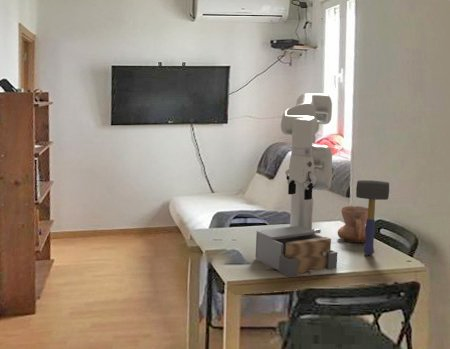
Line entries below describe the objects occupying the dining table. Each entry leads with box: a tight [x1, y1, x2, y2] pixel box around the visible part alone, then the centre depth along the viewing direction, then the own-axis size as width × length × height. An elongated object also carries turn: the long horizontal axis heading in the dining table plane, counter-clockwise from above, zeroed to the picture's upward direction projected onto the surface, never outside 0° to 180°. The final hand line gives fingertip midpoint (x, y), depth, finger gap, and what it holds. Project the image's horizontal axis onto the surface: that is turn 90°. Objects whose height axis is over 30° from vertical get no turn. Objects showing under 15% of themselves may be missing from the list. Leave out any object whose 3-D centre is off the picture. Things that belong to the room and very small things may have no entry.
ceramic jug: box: [337, 205, 368, 244], centre depth 244 cm, size 18×14×14 cm
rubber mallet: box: [355, 179, 390, 256], centre depth 221 cm, size 12×8×30 cm, turn 75°
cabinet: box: [255, 226, 338, 278], centre depth 210 cm, size 22×22×11 cm
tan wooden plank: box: [285, 236, 332, 274], centre depth 202 cm, size 18×4×11 cm, turn 120°
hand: (299, 196), depth 212 cm, fingers open, 9 cm apart
